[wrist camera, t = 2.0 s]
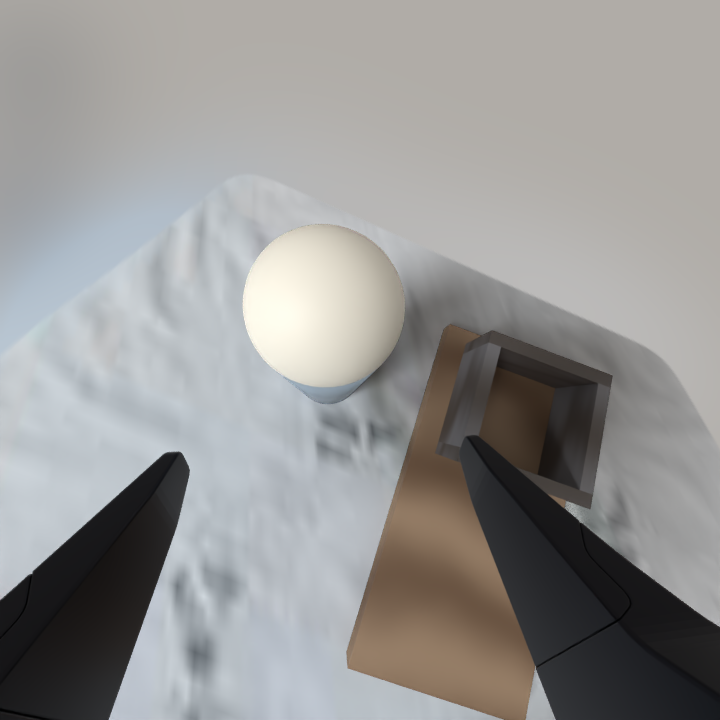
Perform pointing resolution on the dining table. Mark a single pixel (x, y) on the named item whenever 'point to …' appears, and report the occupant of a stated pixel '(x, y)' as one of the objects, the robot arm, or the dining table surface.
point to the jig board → (473, 519)
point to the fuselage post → (324, 309)
